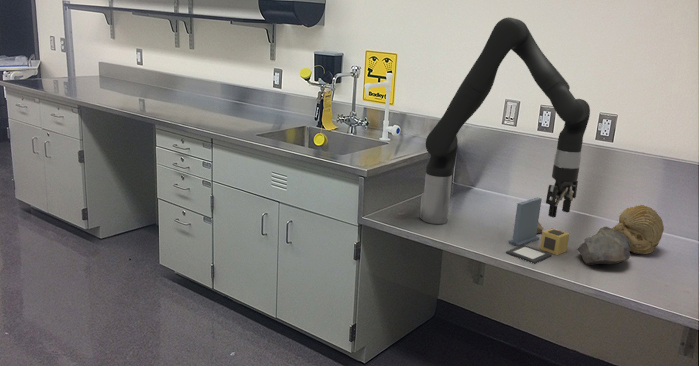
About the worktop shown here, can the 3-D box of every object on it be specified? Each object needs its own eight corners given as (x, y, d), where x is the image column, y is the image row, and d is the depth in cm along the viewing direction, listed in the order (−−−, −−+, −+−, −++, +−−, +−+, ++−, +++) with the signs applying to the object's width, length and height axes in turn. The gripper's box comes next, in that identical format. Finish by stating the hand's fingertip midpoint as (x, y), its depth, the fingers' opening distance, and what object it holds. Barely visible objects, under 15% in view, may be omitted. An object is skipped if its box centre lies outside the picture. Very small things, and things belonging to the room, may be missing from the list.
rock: (526, 235, 199) (528, 223, 198) (511, 223, 210) (513, 212, 209) (546, 234, 201) (548, 222, 200) (530, 223, 211) (532, 211, 210)
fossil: (594, 242, 195) (602, 199, 191) (633, 237, 202) (641, 196, 198) (630, 259, 182) (639, 214, 178) (670, 254, 188) (680, 210, 184)
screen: (508, 243, 190) (514, 202, 187) (528, 235, 198) (534, 196, 195) (519, 246, 188) (525, 205, 184) (539, 239, 195) (544, 199, 192)
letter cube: (539, 249, 187) (542, 231, 185) (549, 245, 191) (552, 227, 189) (556, 255, 182) (559, 237, 181) (566, 251, 186) (569, 233, 185)
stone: (588, 214, 187) (639, 224, 179) (584, 243, 191) (634, 254, 183) (572, 236, 173) (626, 249, 165) (568, 267, 177) (621, 280, 169)
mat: (505, 253, 182) (506, 251, 182) (523, 246, 188) (523, 244, 188) (534, 263, 175) (534, 261, 174) (551, 256, 181) (551, 254, 181)
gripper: (566, 159, 186) (559, 207, 191) (543, 164, 177) (536, 215, 181) (589, 164, 181) (581, 213, 185) (566, 170, 172) (558, 221, 176)
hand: (558, 214), depth 183 cm, fingers open, 8 cm apart
